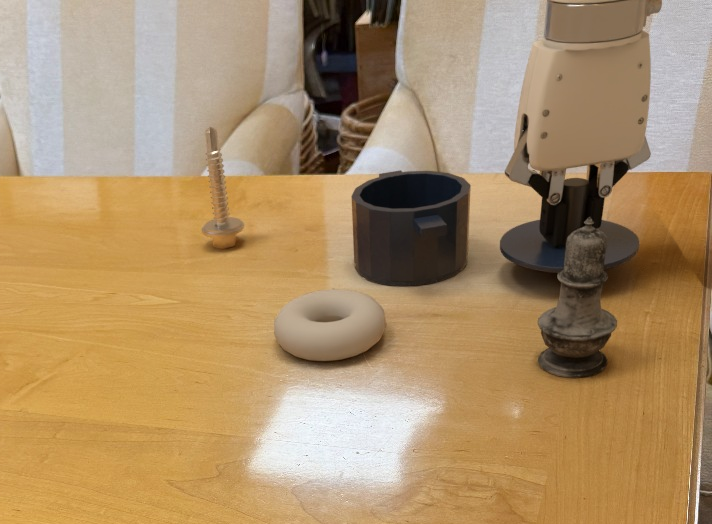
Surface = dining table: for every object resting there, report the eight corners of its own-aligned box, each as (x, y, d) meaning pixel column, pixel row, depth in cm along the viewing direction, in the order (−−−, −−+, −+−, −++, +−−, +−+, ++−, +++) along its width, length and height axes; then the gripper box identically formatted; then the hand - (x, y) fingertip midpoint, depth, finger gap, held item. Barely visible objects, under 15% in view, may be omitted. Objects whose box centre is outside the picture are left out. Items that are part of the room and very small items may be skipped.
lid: (603, 220, 90) (612, 152, 86) (662, 267, 81) (676, 193, 77) (481, 238, 90) (485, 171, 86) (526, 288, 81) (532, 215, 77)
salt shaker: (577, 387, 71) (596, 239, 64) (518, 362, 75) (529, 220, 68) (627, 360, 73) (651, 214, 66) (567, 336, 77) (583, 197, 70)
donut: (252, 349, 83) (333, 379, 76) (248, 314, 81) (330, 342, 74) (327, 308, 88) (410, 333, 81) (325, 274, 86) (409, 297, 79)
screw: (201, 254, 103) (207, 237, 106) (243, 251, 102) (248, 235, 105) (183, 135, 95) (191, 122, 99) (229, 131, 94) (235, 118, 98)
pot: (441, 226, 100) (442, 156, 95) (491, 286, 87) (495, 209, 82) (340, 242, 100) (337, 173, 96) (374, 305, 87) (372, 228, 82)
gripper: (669, -2, 77) (635, 212, 88) (480, 27, 77) (470, 237, 88) (716, 12, 71) (673, 240, 82) (511, 44, 71) (496, 267, 82)
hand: (568, 237), depth 85 cm, fingers closed on lid, 2 cm apart
